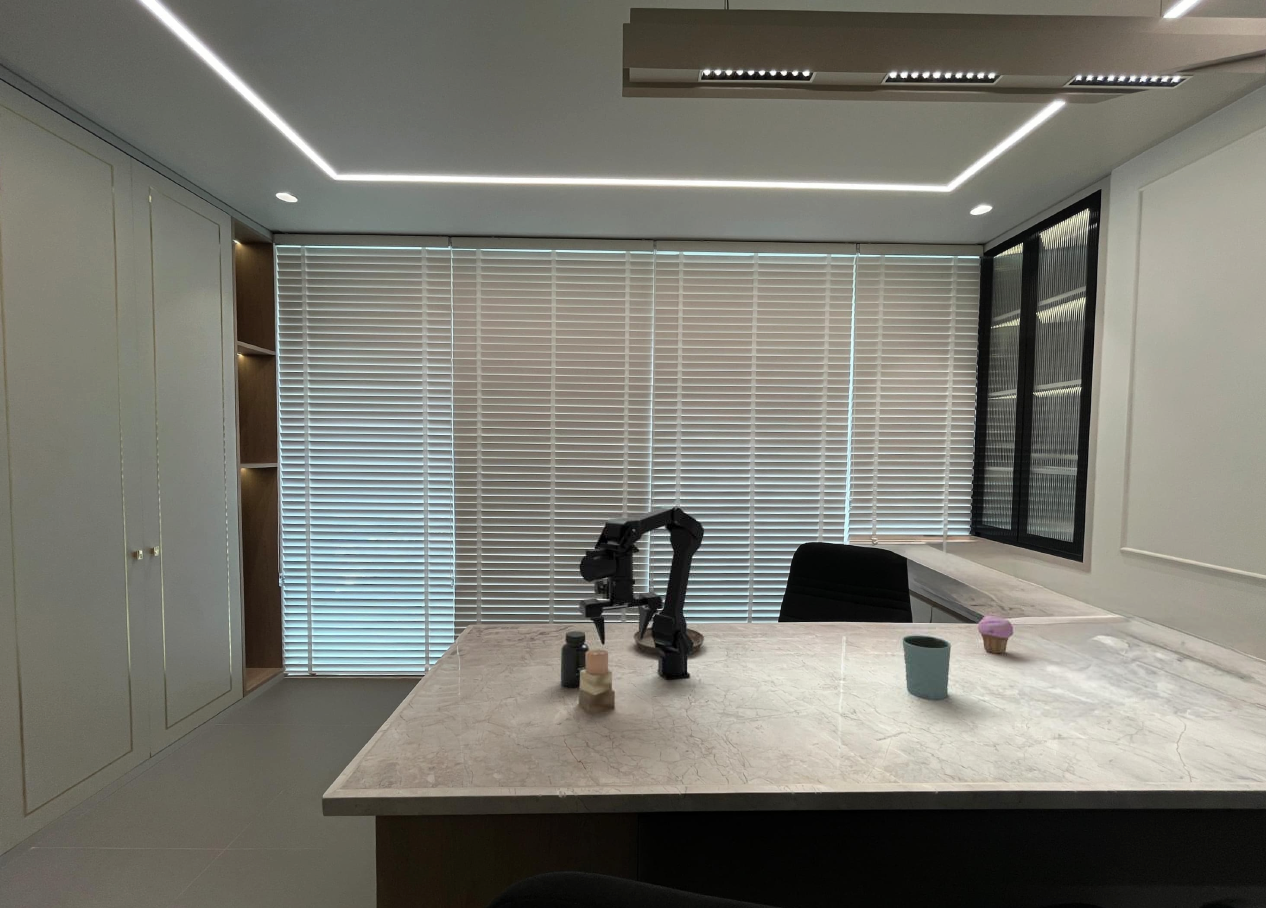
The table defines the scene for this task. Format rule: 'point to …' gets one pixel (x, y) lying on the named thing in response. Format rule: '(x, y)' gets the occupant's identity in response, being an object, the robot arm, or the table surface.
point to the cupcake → (995, 633)
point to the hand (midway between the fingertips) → (622, 641)
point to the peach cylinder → (596, 662)
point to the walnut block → (597, 701)
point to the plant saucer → (649, 646)
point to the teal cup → (927, 666)
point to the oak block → (595, 682)
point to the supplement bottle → (573, 658)
